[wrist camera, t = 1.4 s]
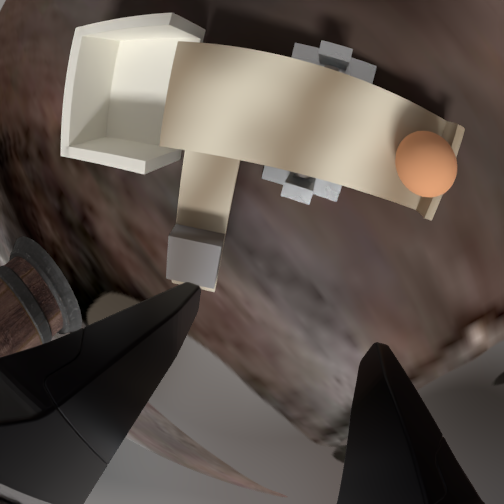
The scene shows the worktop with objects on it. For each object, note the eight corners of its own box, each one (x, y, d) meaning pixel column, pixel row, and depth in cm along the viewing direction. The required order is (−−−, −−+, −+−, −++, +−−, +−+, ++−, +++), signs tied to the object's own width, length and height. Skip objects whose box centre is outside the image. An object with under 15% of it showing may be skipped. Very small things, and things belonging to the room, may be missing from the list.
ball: (441, 139, 13) (477, 154, 10) (423, 191, 14) (454, 216, 11) (395, 116, 12) (428, 125, 9) (377, 173, 14) (404, 196, 11)
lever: (445, 120, 13) (468, 126, 11) (364, 309, 21) (372, 332, 18) (184, 41, 12) (169, 32, 9) (155, 269, 19) (144, 291, 17)
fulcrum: (376, 67, 13) (386, 57, 10) (336, 200, 17) (337, 218, 15) (295, 43, 13) (288, 29, 11) (262, 177, 18) (249, 190, 15)
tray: (205, 29, 14) (172, 12, 10) (180, 159, 19) (144, 174, 15) (116, 34, 15) (75, 27, 11) (100, 143, 20) (60, 155, 16)
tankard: (4, 250, 33) (-75, 315, 16) (37, 221, 26) (-83, 311, 9) (72, 359, 41) (15, 432, 24) (126, 367, 35) (56, 471, 18)
